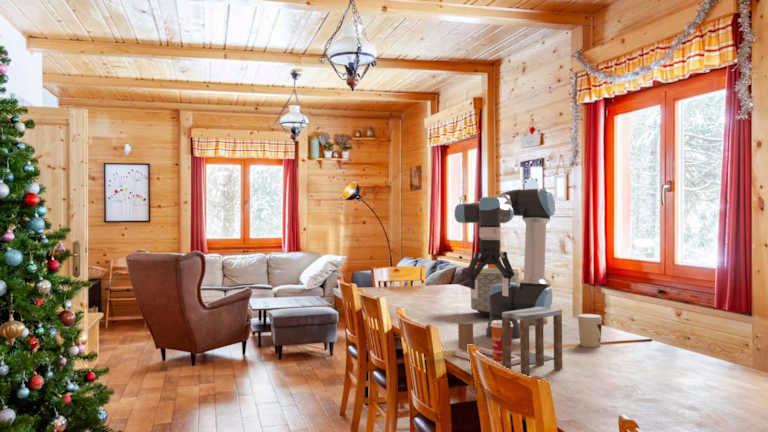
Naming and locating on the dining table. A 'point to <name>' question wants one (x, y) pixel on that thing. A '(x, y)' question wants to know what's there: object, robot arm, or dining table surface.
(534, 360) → the coaster
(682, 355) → the dining table surface
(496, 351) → the coffee cup
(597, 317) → the coffee cup
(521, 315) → the small wooden stool
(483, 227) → the robot arm
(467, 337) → the frame
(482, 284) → the planter
